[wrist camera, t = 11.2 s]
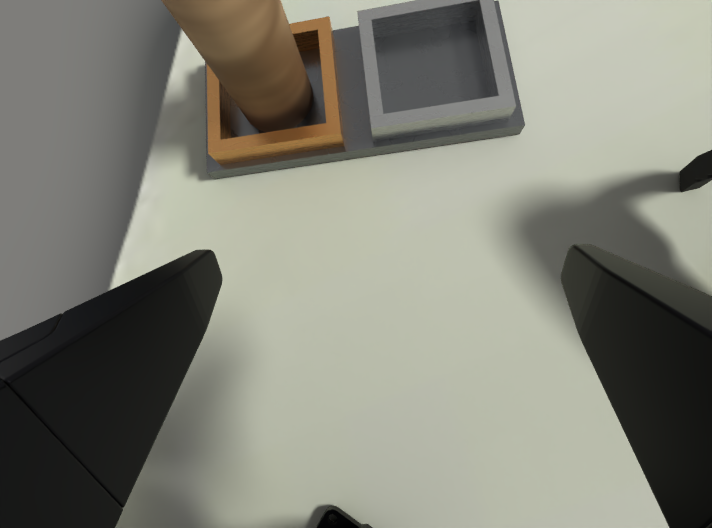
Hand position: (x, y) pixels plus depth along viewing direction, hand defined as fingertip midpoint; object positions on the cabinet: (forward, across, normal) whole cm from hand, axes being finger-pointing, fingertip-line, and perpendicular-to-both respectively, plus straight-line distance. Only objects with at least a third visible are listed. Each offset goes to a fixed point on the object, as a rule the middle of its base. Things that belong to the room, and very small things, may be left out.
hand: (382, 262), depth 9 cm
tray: (+19, +2, -1) cm, 19 cm away
